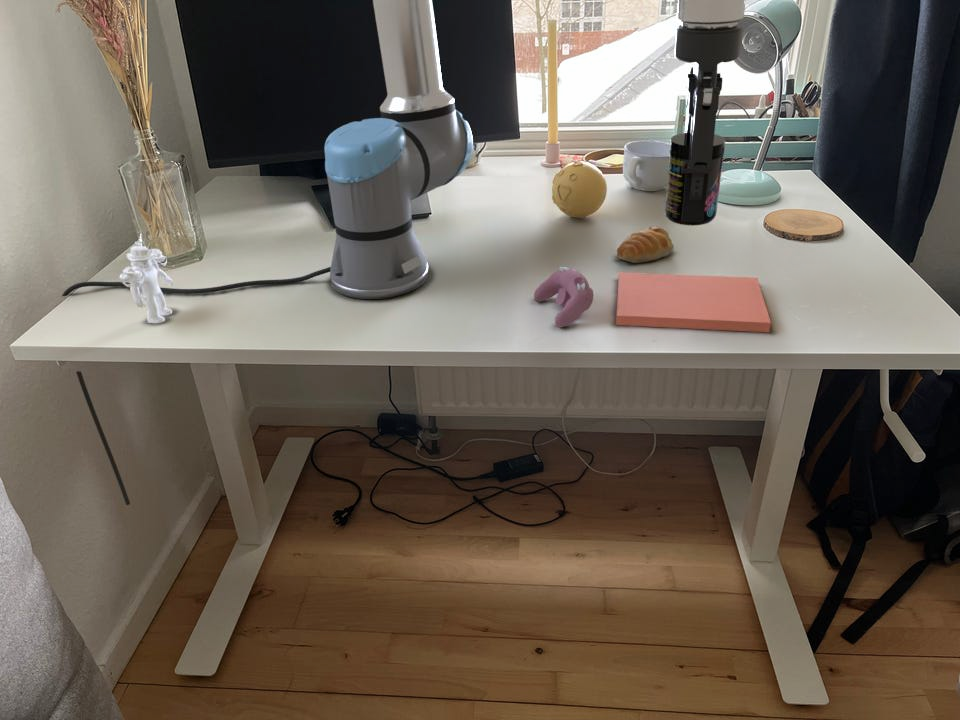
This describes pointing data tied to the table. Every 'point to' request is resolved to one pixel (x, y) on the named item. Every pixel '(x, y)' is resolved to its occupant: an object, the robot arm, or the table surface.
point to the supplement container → (677, 178)
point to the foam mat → (691, 302)
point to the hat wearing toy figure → (147, 281)
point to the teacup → (646, 164)
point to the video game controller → (566, 294)
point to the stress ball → (579, 189)
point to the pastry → (646, 245)
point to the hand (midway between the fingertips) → (690, 211)
